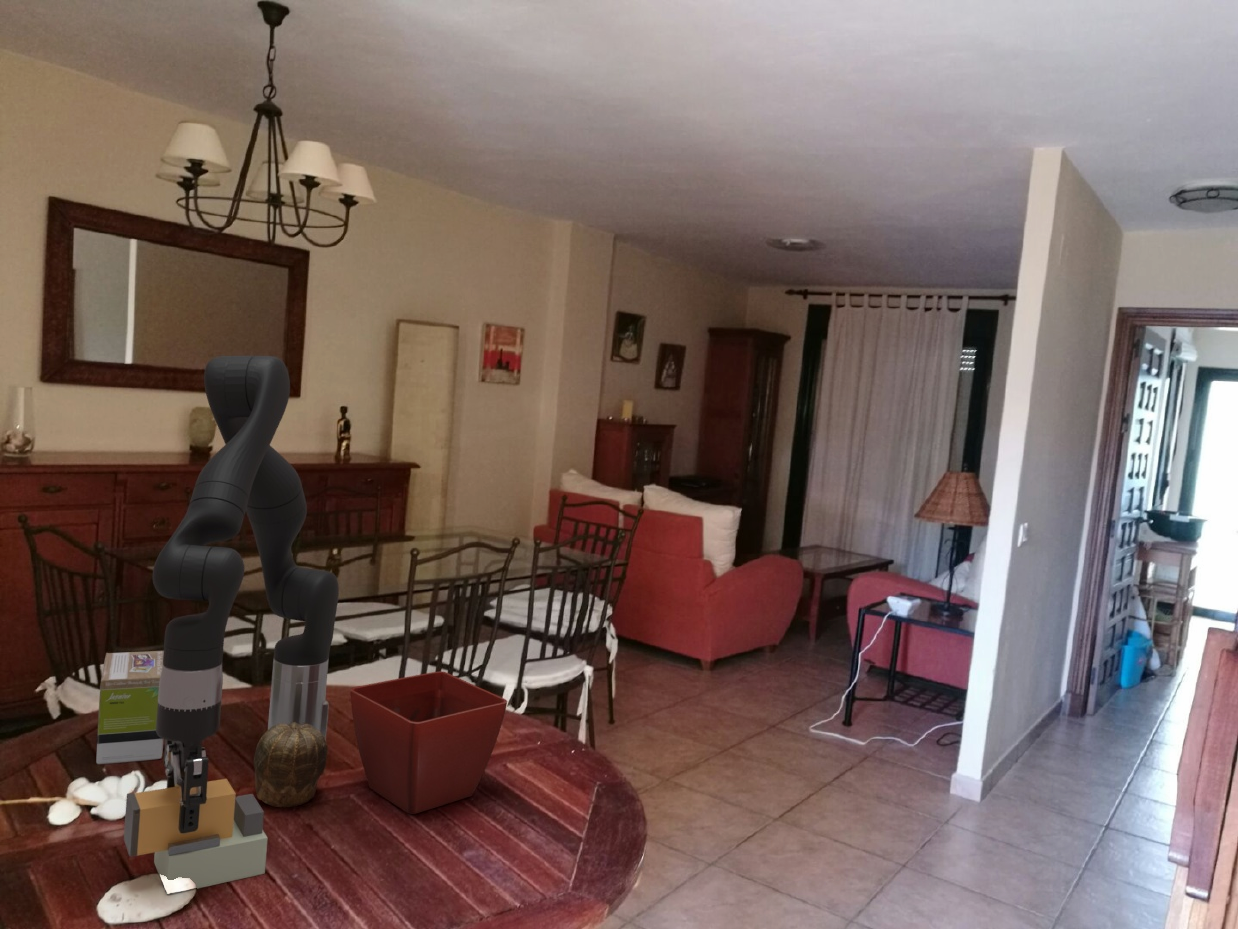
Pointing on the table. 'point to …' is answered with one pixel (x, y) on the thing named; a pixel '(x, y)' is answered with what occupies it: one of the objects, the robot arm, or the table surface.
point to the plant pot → (425, 737)
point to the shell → (289, 764)
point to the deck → (220, 850)
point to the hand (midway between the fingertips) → (181, 817)
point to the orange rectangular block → (175, 817)
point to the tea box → (129, 708)
